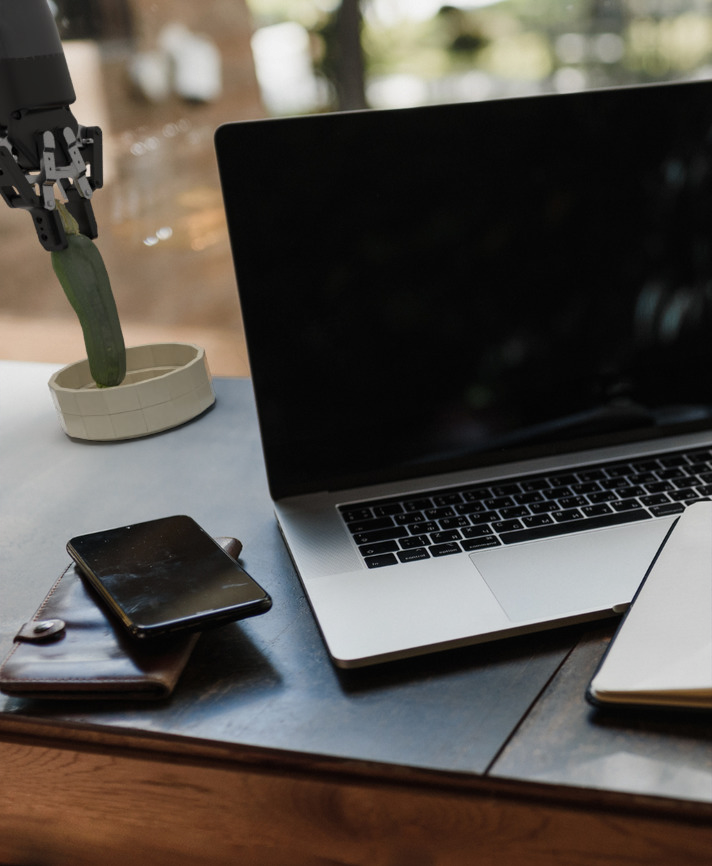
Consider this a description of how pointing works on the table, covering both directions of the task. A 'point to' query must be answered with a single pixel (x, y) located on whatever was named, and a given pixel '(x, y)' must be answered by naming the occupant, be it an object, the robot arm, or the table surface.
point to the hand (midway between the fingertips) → (71, 244)
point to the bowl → (135, 393)
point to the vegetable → (91, 302)
